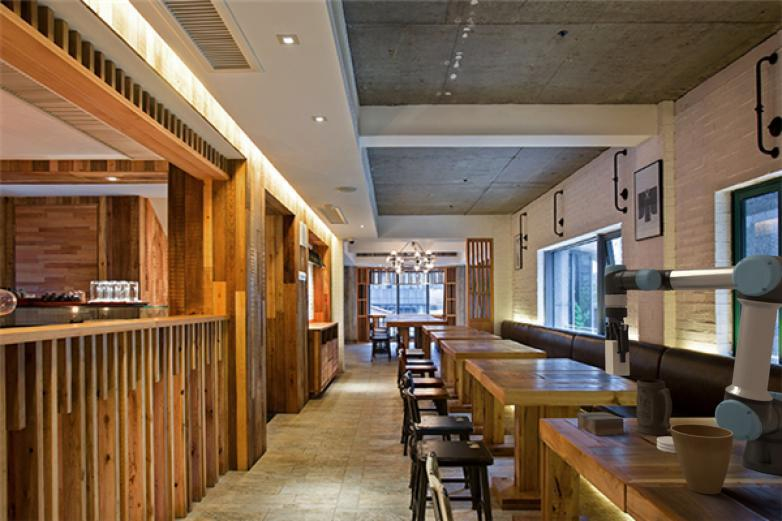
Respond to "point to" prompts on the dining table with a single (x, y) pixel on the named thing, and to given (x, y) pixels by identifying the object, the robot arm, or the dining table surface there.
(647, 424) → the beer stein
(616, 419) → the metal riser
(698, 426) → the plant pot
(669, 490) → the dining table surface
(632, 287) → the robot arm
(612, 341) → the cream block
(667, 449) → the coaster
